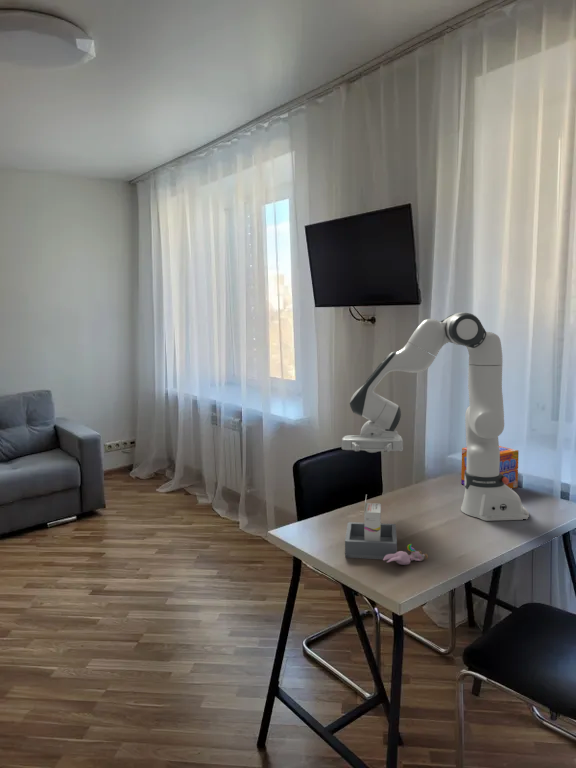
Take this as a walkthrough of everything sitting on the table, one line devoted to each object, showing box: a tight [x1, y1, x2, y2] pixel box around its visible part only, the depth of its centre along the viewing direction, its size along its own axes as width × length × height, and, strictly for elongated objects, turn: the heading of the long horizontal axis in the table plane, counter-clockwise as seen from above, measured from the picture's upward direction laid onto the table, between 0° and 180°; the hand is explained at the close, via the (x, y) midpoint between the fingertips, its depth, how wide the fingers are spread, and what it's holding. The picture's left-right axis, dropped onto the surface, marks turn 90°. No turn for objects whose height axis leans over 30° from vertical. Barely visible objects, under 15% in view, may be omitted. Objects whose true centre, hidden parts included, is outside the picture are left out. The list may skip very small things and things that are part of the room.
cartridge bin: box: [344, 521, 398, 561], centre depth 167 cm, size 15×15×5 cm
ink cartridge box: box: [363, 494, 382, 541], centre depth 167 cm, size 9×5×15 cm, turn 171°
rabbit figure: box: [382, 543, 429, 566], centre depth 157 cm, size 6×6×15 cm
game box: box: [460, 445, 520, 489], centre depth 223 cm, size 16×16×16 cm
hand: (371, 448), depth 176 cm, fingers open, 8 cm apart
